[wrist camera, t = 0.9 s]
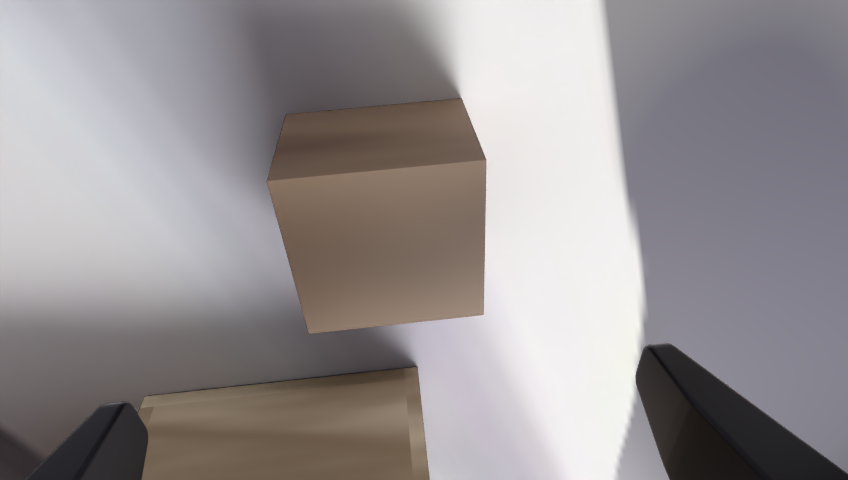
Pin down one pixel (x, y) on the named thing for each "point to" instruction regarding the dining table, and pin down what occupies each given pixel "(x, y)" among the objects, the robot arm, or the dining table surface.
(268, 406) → the wooden box
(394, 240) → the block
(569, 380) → the dining table surface
